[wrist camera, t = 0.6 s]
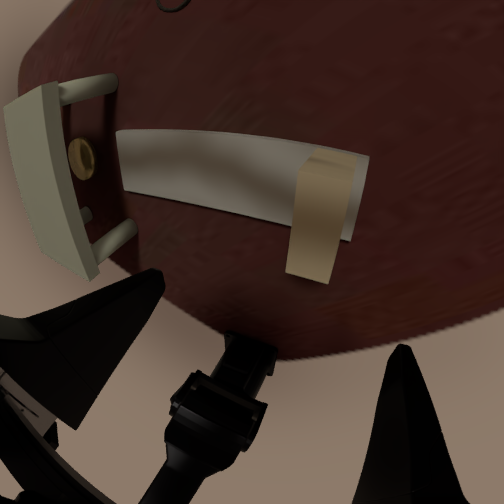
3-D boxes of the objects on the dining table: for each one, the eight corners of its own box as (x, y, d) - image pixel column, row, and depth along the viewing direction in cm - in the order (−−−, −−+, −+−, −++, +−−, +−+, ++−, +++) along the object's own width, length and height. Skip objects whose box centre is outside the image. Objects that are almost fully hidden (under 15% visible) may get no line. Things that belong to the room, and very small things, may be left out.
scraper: (351, 234, 19) (340, 287, 15) (131, 186, 25) (86, 213, 21) (369, 155, 15) (368, 186, 11) (123, 129, 22) (72, 149, 17)
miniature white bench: (140, 238, 28) (89, 281, 22) (85, 219, 32) (41, 252, 26) (119, 68, 18) (41, 85, 12) (61, 87, 21) (3, 107, 15)
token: (102, 177, 26) (94, 181, 25) (80, 174, 28) (72, 178, 27) (96, 134, 23) (87, 138, 22) (73, 136, 25) (65, 139, 24)
